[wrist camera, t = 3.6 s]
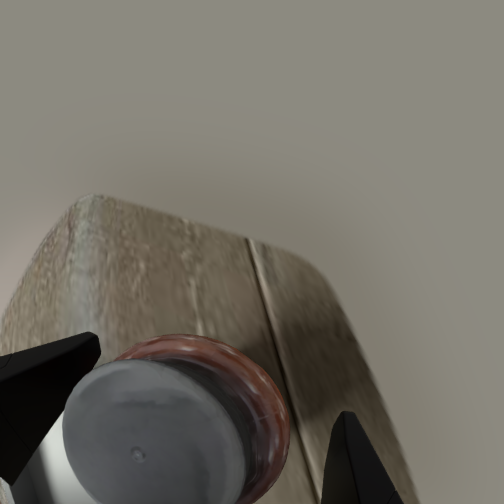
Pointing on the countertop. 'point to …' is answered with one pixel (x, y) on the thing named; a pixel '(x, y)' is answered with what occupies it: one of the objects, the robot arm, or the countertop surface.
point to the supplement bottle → (176, 425)
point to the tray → (48, 475)
